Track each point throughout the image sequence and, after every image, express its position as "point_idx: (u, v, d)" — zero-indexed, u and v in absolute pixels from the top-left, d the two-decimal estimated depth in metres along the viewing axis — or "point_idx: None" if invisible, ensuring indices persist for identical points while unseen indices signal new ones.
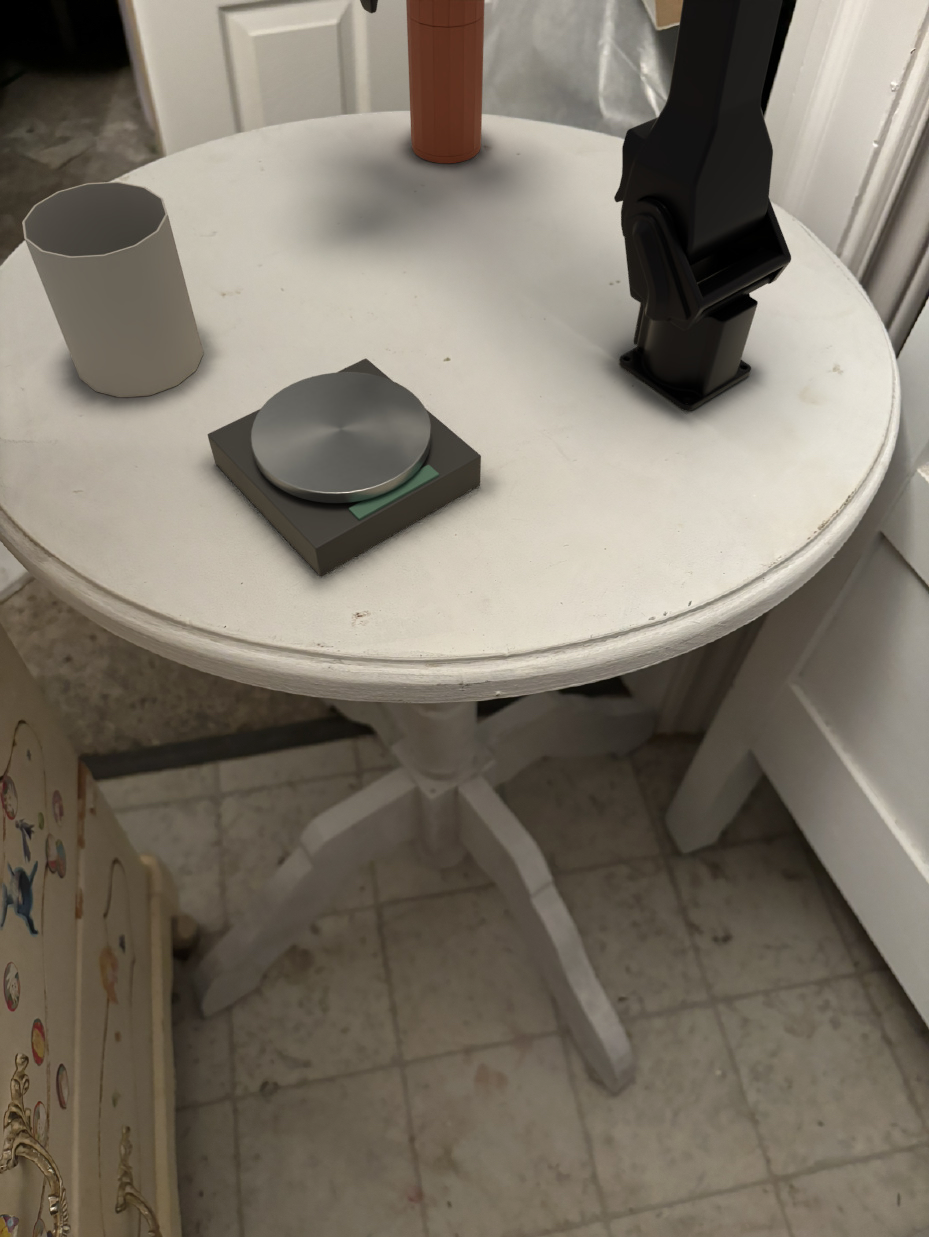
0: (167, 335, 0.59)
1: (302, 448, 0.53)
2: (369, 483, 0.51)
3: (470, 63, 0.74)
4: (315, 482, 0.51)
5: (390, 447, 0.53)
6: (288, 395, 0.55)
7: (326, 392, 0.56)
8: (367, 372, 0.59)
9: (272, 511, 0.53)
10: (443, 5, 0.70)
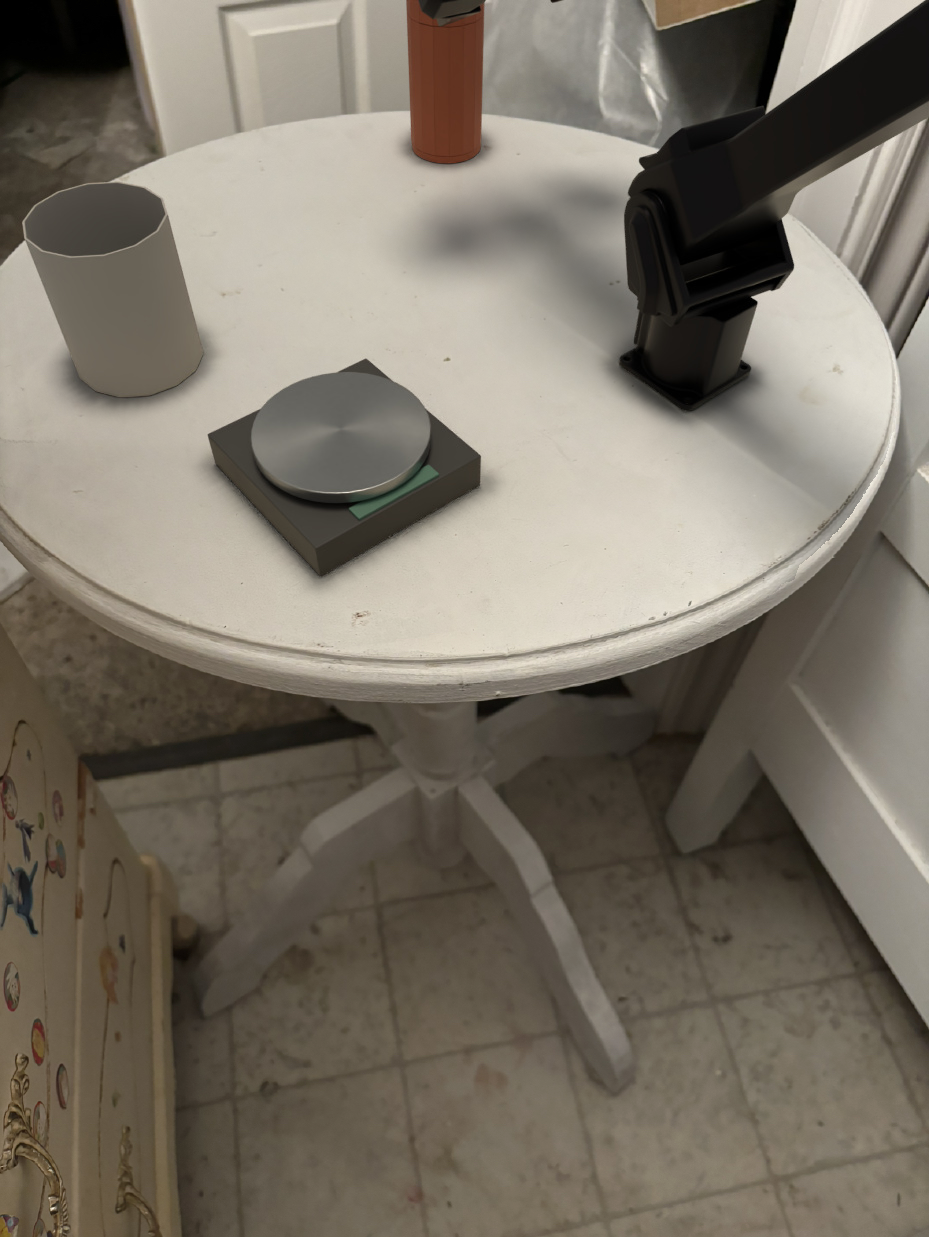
0: (167, 335, 0.59)
1: (302, 448, 0.53)
2: (369, 483, 0.51)
3: (470, 63, 0.74)
4: (315, 482, 0.51)
5: (390, 447, 0.53)
6: (288, 395, 0.55)
7: (326, 392, 0.56)
8: (367, 372, 0.59)
9: (272, 511, 0.53)
10: None
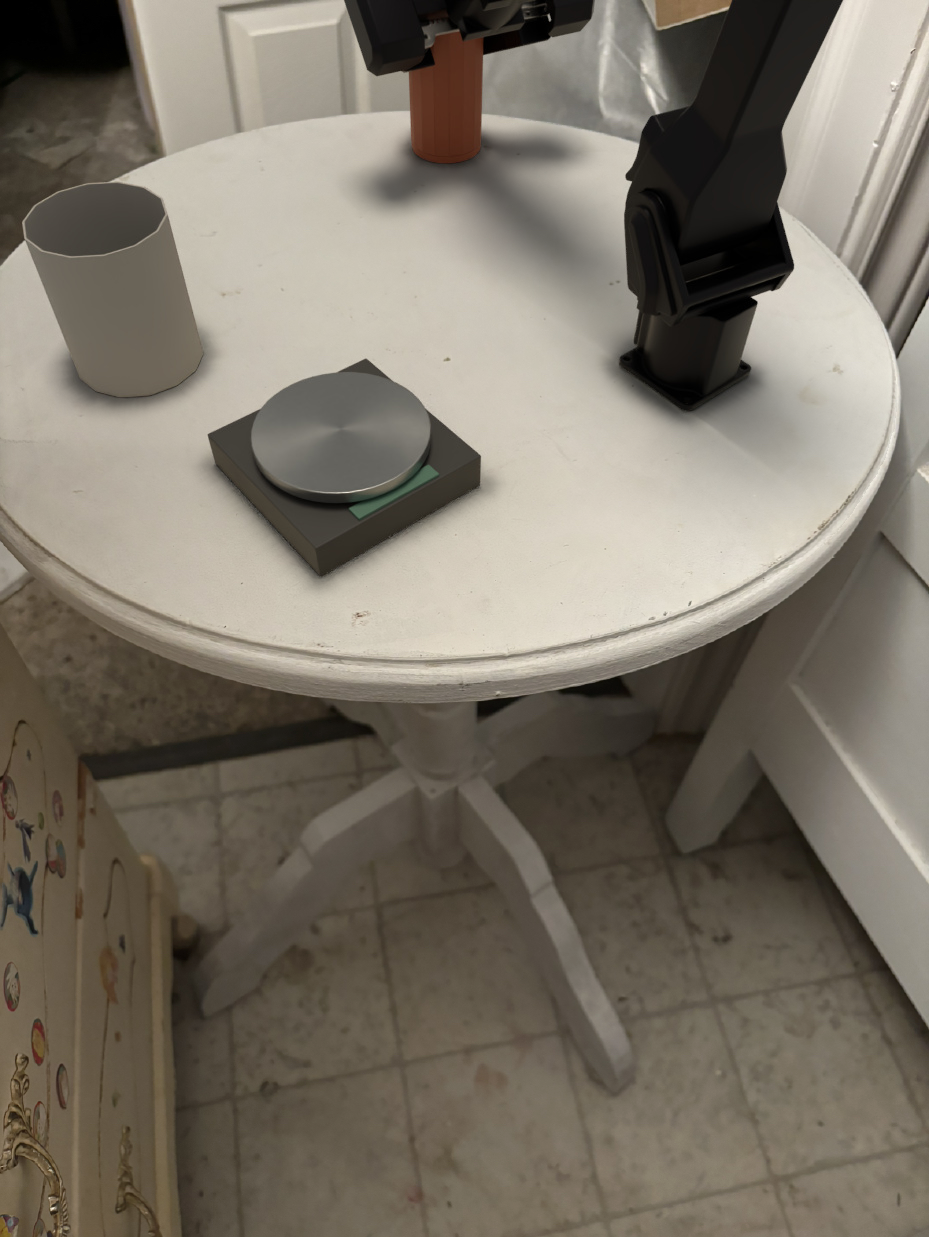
0: (167, 335, 0.59)
1: (302, 448, 0.53)
2: (369, 483, 0.51)
3: (470, 63, 0.74)
4: (315, 482, 0.51)
5: (390, 447, 0.53)
6: (288, 395, 0.55)
7: (326, 392, 0.56)
8: (367, 372, 0.59)
9: (272, 511, 0.53)
10: None
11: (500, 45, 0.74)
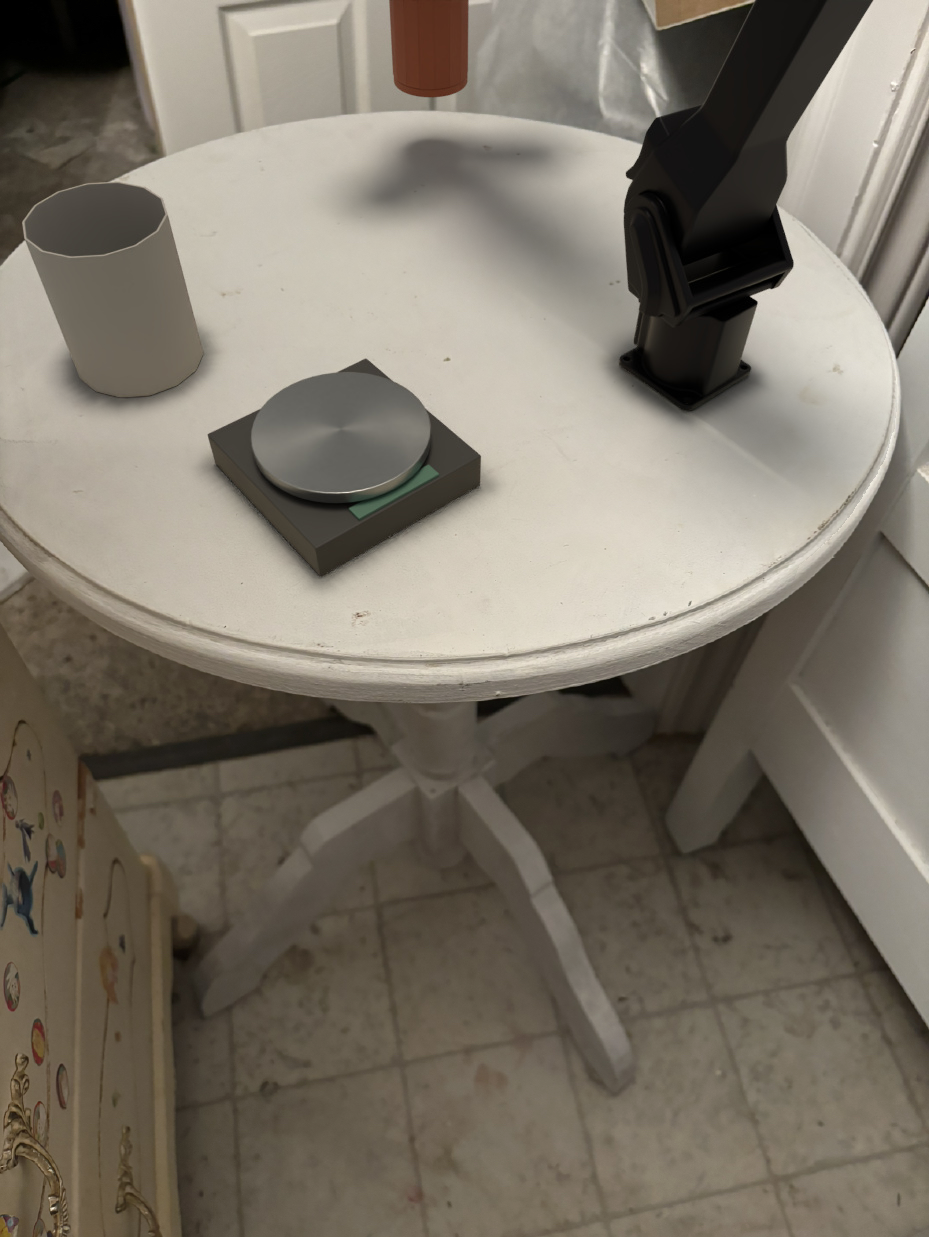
0: (167, 335, 0.59)
1: (302, 448, 0.53)
2: (369, 483, 0.51)
3: None
4: (315, 482, 0.51)
5: (390, 447, 0.53)
6: (288, 395, 0.55)
7: (326, 392, 0.56)
8: (367, 372, 0.59)
9: (272, 511, 0.53)
10: None
11: None
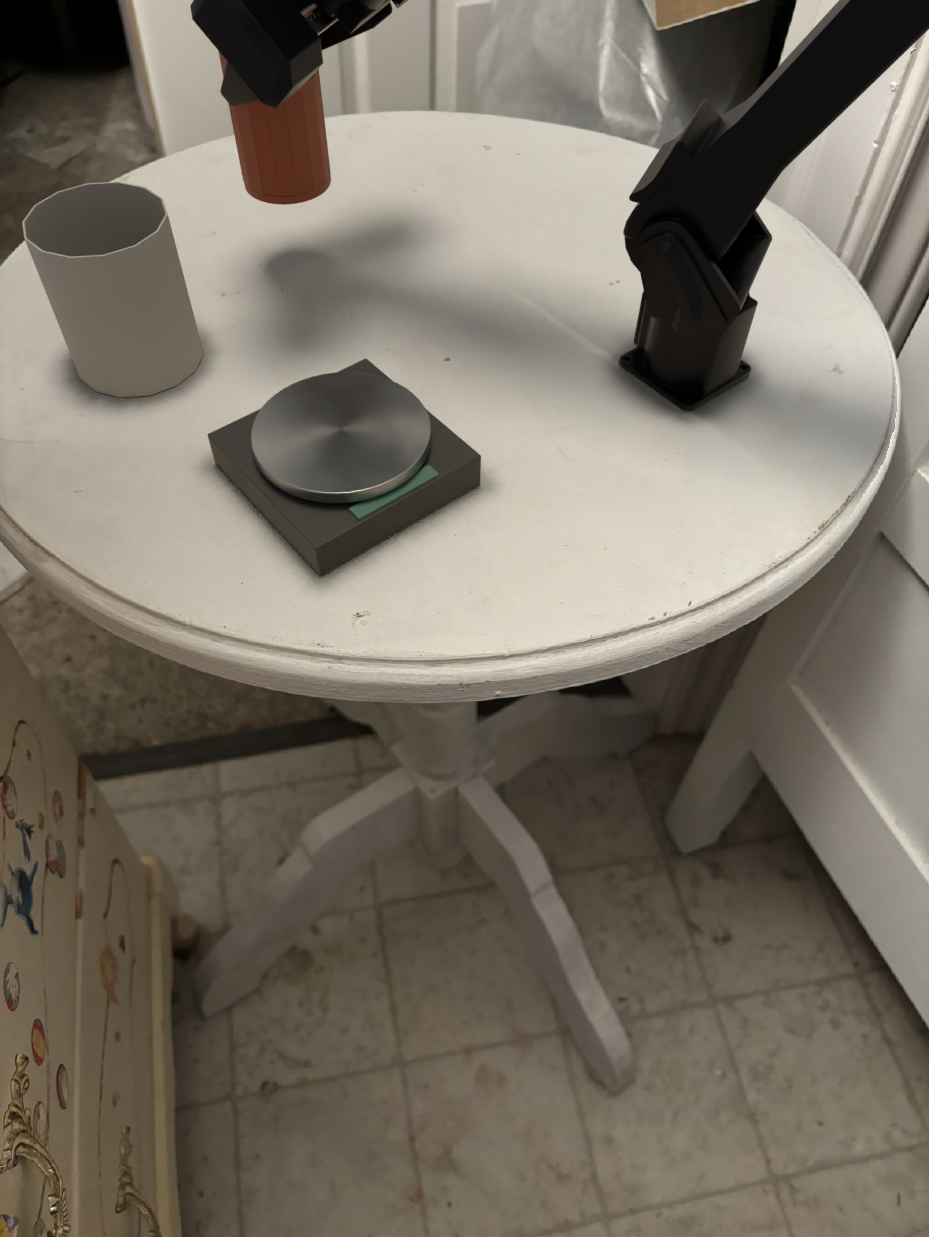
0: (167, 335, 0.59)
1: (302, 448, 0.53)
2: (369, 483, 0.51)
3: None
4: (315, 482, 0.51)
5: (390, 447, 0.53)
6: (288, 395, 0.55)
7: (326, 392, 0.56)
8: (367, 372, 0.59)
9: (272, 511, 0.53)
10: None
11: (335, 37, 0.59)
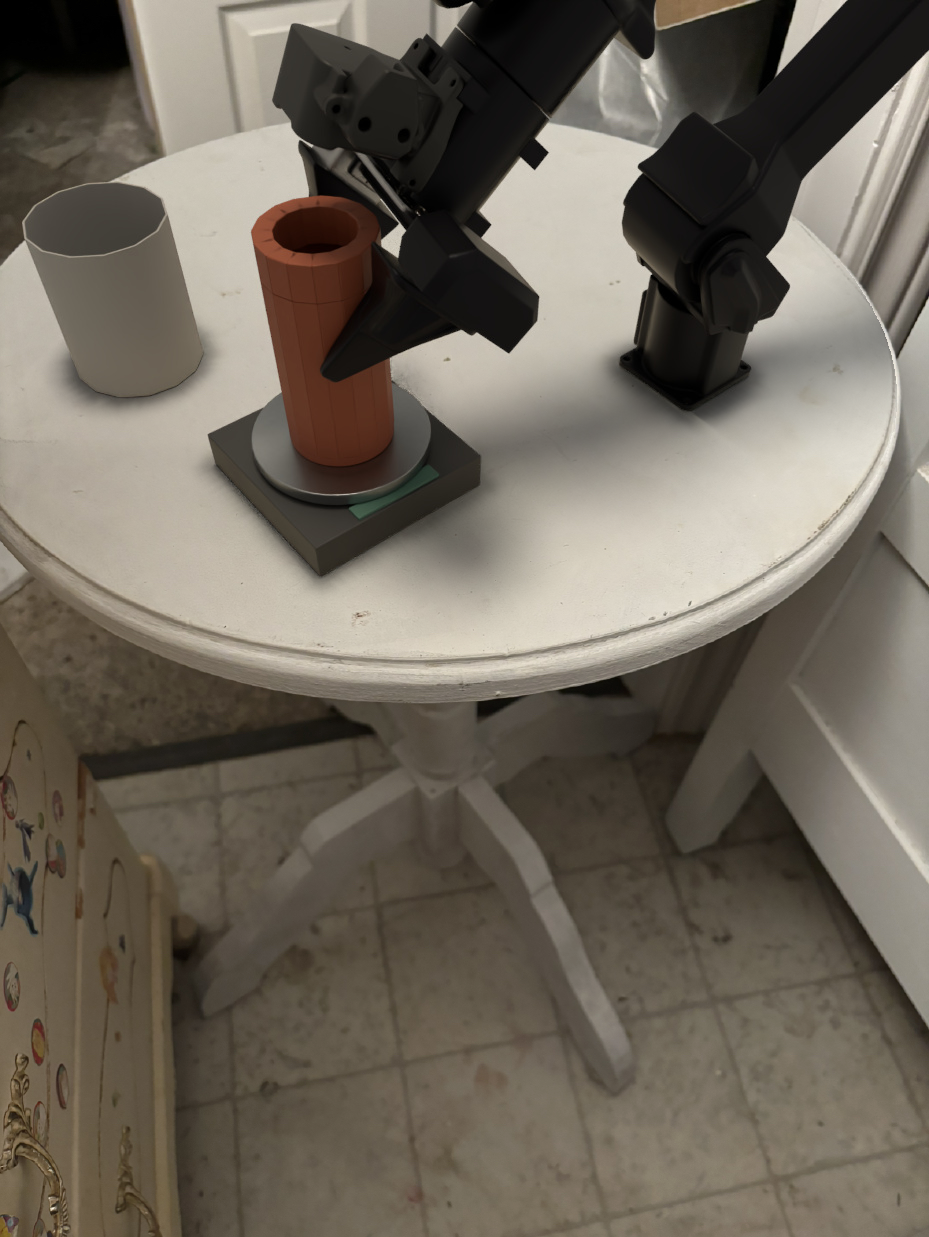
0: (167, 335, 0.59)
1: None
2: (369, 485, 0.51)
3: None
4: (315, 484, 0.51)
5: (390, 449, 0.53)
6: None
7: None
8: None
9: (272, 511, 0.53)
10: (379, 242, 0.44)
11: None
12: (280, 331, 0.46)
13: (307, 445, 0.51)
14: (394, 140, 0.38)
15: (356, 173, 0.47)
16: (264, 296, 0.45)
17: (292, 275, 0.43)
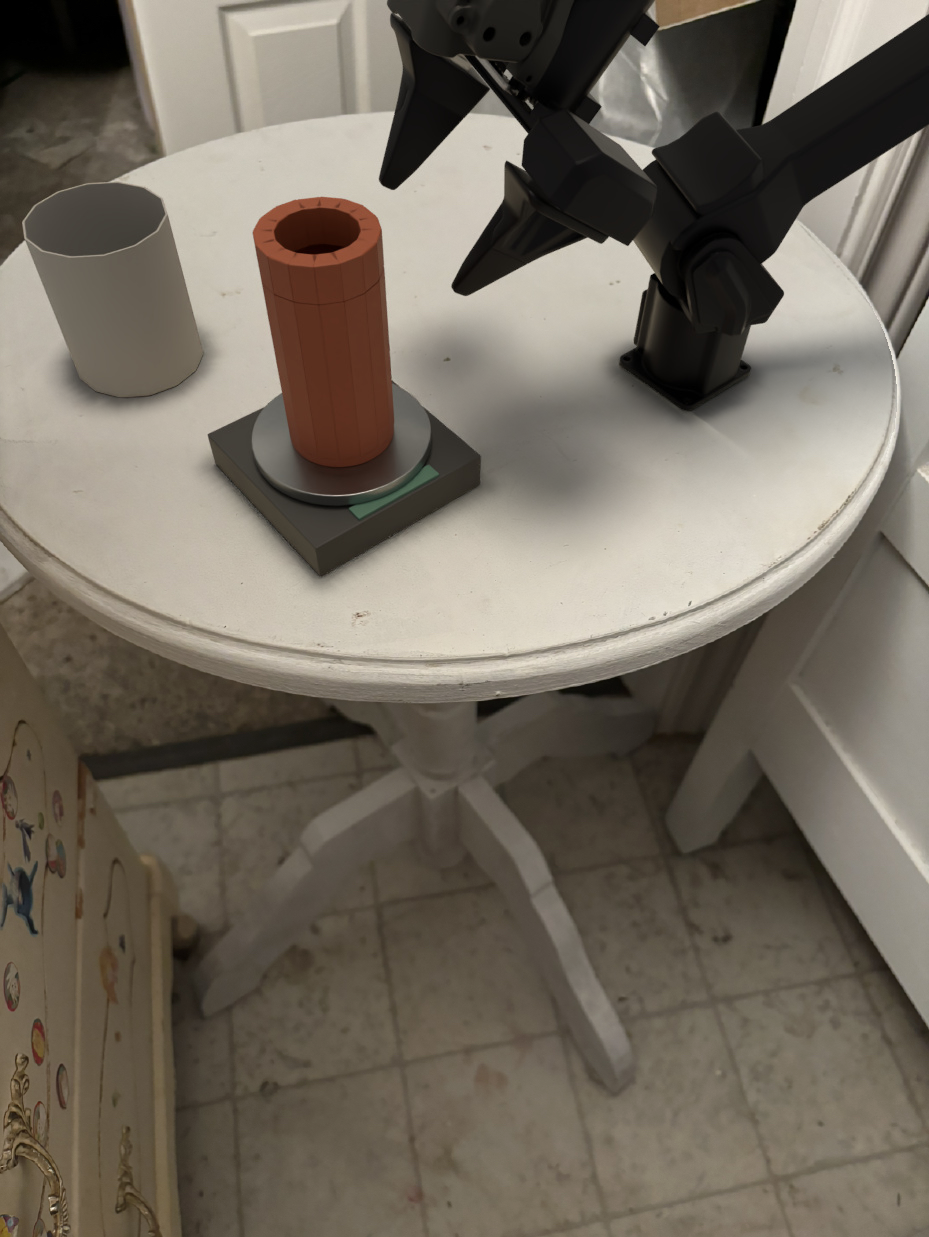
0: (167, 335, 0.59)
1: None
2: (369, 486, 0.51)
3: None
4: (315, 485, 0.51)
5: (390, 450, 0.53)
6: None
7: None
8: None
9: (272, 511, 0.53)
10: (380, 243, 0.44)
11: (449, 126, 0.51)
12: (281, 332, 0.46)
13: (307, 446, 0.51)
14: (516, 45, 0.39)
15: None
16: (265, 297, 0.45)
17: (294, 276, 0.43)
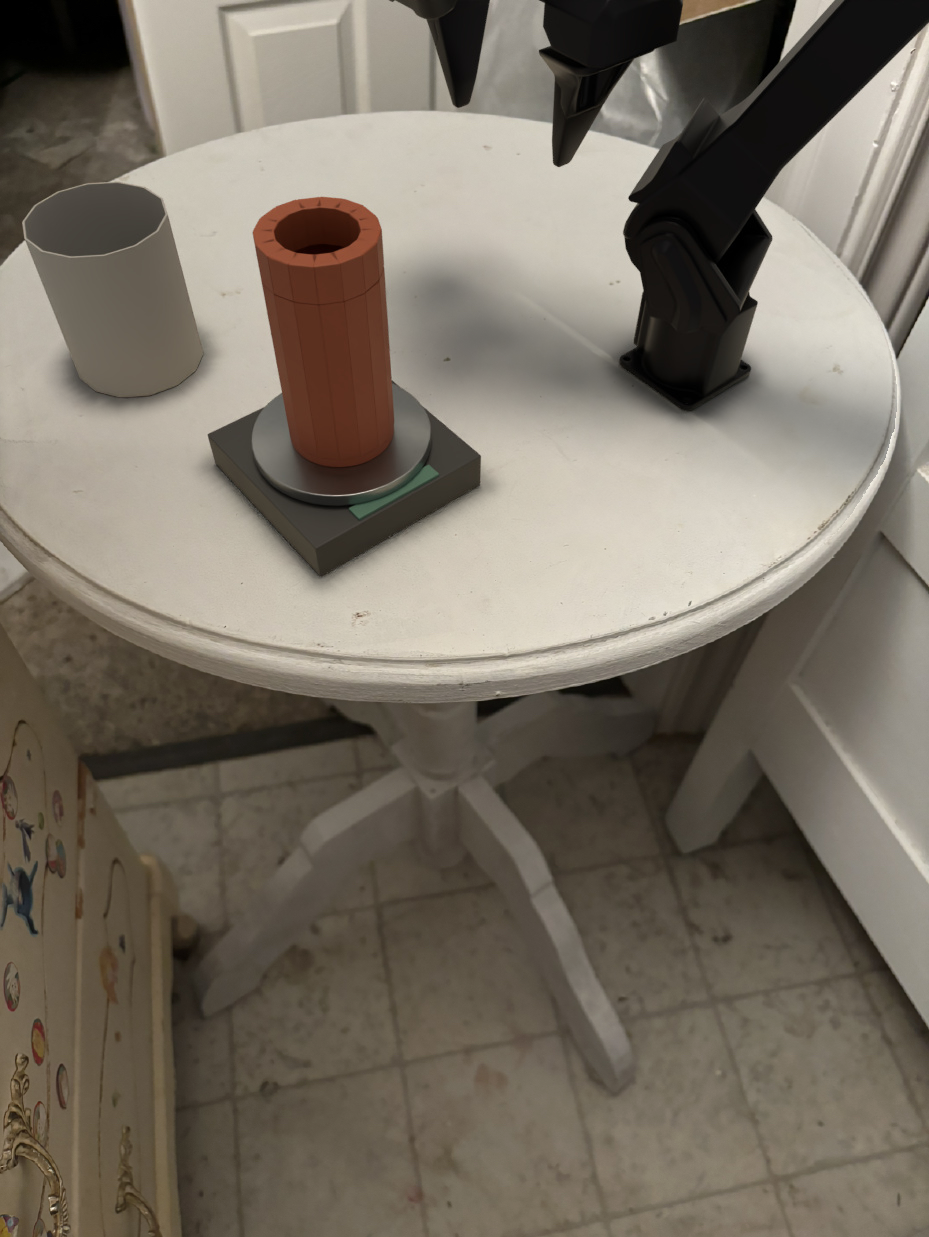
0: (167, 335, 0.59)
1: None
2: (369, 486, 0.51)
3: None
4: (315, 485, 0.51)
5: (390, 450, 0.53)
6: None
7: None
8: None
9: (272, 511, 0.53)
10: (380, 243, 0.44)
11: (482, 20, 0.55)
12: (281, 332, 0.46)
13: (307, 446, 0.51)
14: None
15: None
16: (265, 297, 0.45)
17: (294, 276, 0.43)
